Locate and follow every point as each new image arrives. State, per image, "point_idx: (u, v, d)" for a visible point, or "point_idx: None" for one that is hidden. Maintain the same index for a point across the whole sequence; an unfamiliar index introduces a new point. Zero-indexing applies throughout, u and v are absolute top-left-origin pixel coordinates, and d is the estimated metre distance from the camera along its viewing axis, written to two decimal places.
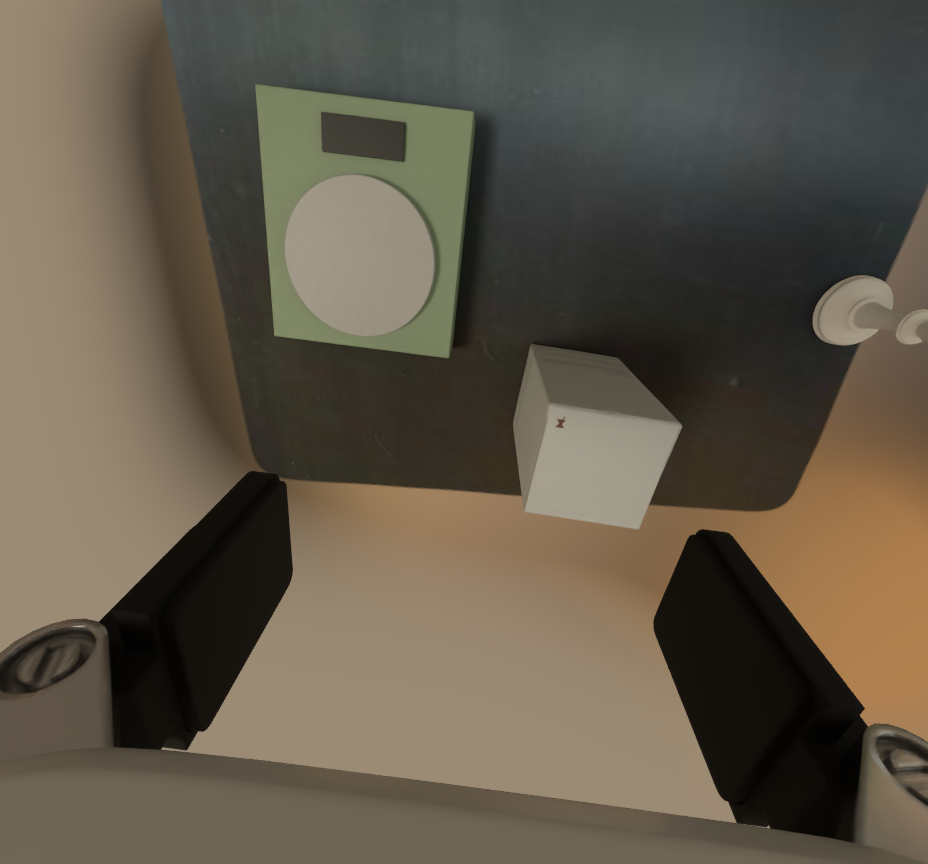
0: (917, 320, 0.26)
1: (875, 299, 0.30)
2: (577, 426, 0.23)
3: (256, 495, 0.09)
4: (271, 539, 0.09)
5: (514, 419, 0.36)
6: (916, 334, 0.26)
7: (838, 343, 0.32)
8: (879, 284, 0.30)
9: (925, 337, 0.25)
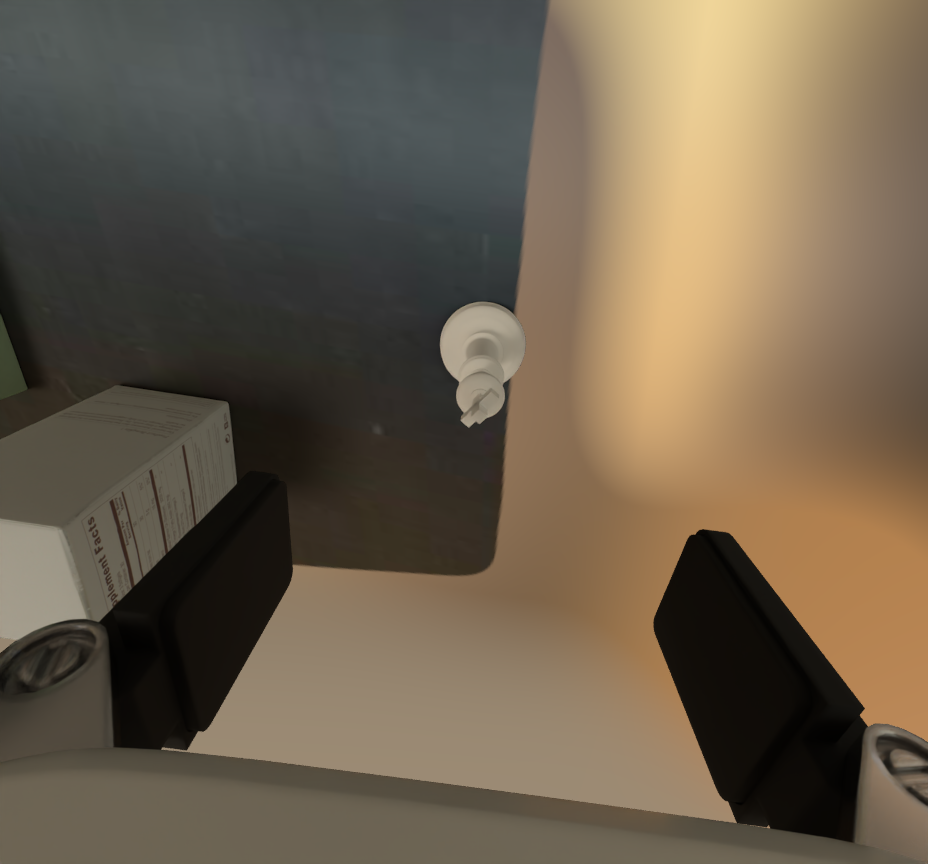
0: (472, 370, 0.20)
1: (485, 334, 0.23)
2: None
3: (256, 495, 0.09)
4: (271, 539, 0.09)
5: None
6: None
7: None
8: (495, 314, 0.23)
9: None
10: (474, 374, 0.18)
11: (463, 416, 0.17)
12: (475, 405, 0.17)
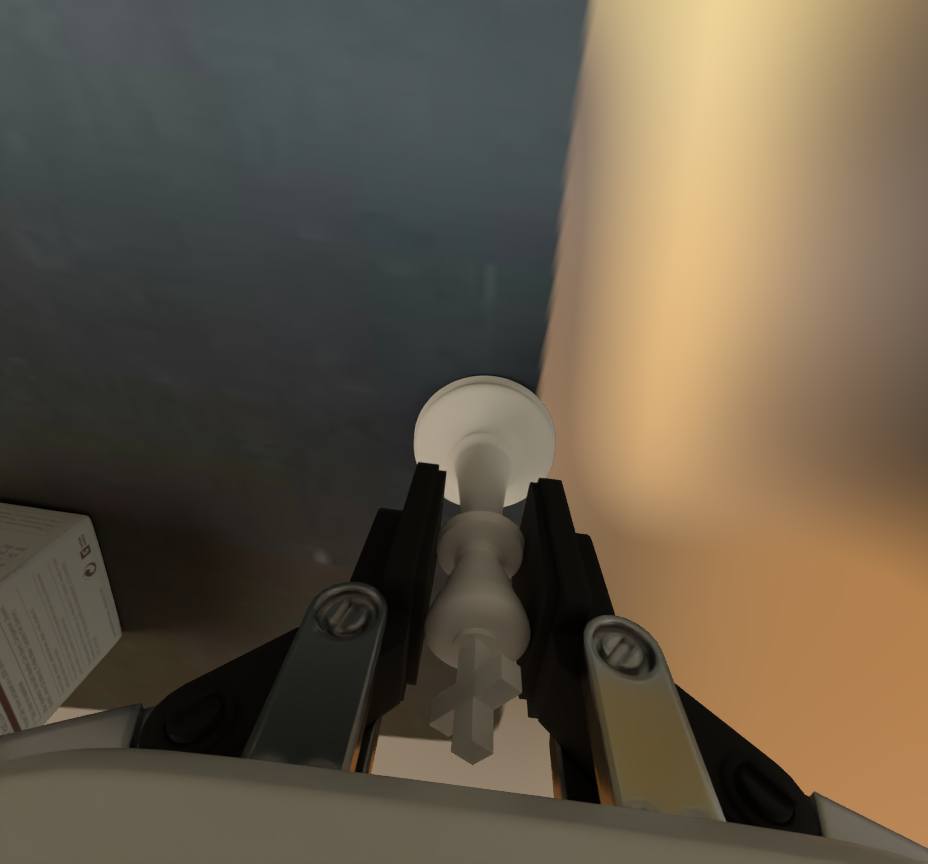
0: (462, 541, 0.10)
1: (489, 436, 0.13)
2: None
3: (434, 482, 0.10)
4: (439, 522, 0.10)
5: None
6: None
7: None
8: (507, 400, 0.14)
9: None
10: (463, 595, 0.08)
11: (435, 711, 0.07)
12: (463, 697, 0.07)
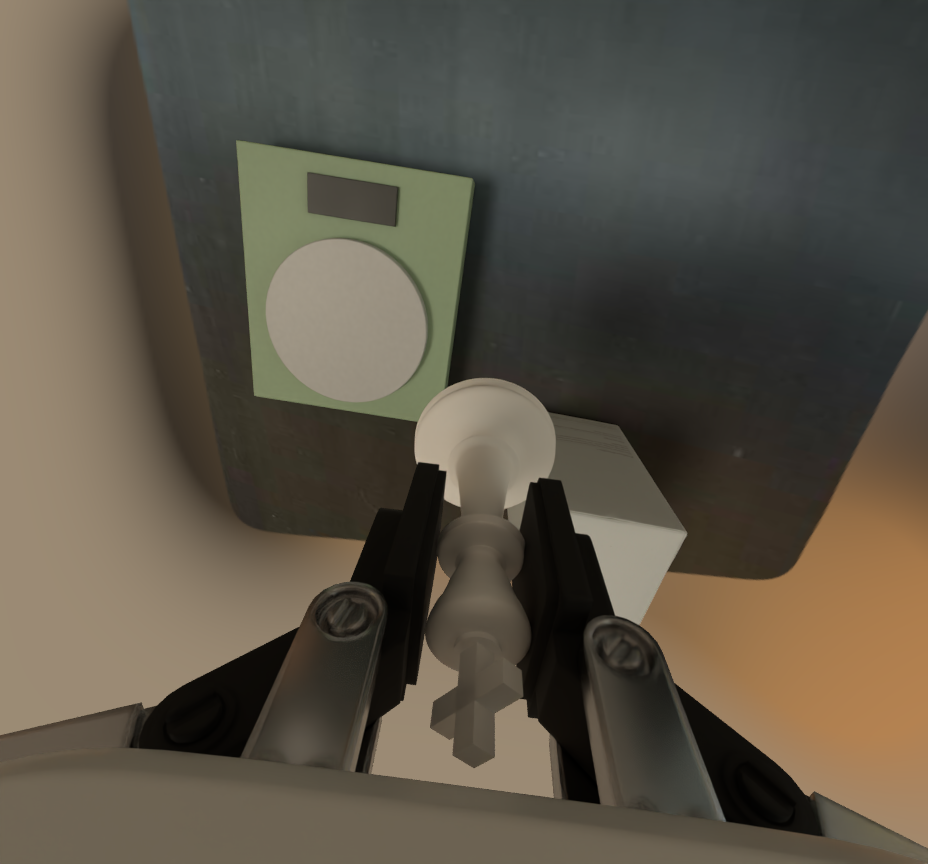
0: (463, 544, 0.10)
1: (489, 438, 0.13)
2: (575, 530, 0.22)
3: (434, 482, 0.10)
4: (439, 522, 0.10)
5: None
6: None
7: None
8: (507, 402, 0.14)
9: None
10: (464, 598, 0.08)
11: (437, 714, 0.07)
12: (464, 700, 0.07)
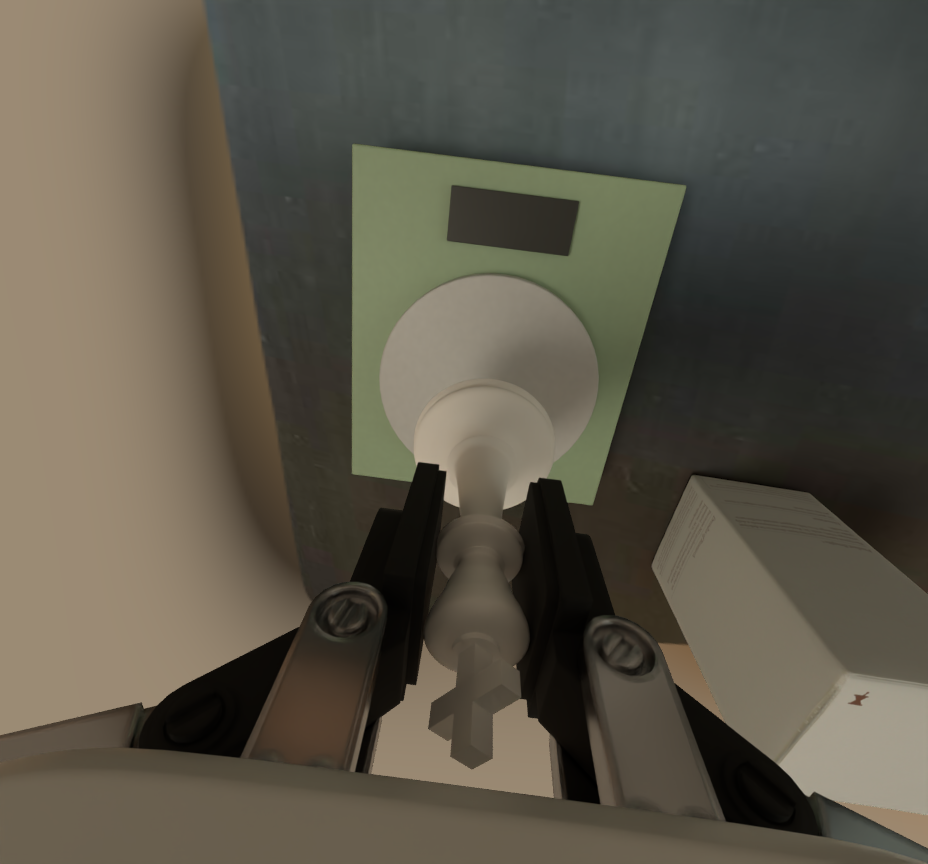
0: (461, 545, 0.10)
1: (488, 439, 0.13)
2: (886, 703, 0.14)
3: (434, 482, 0.10)
4: (439, 522, 0.10)
5: (658, 564, 0.27)
6: None
7: None
8: (506, 403, 0.14)
9: None
10: (462, 599, 0.08)
11: (435, 715, 0.07)
12: (463, 701, 0.07)
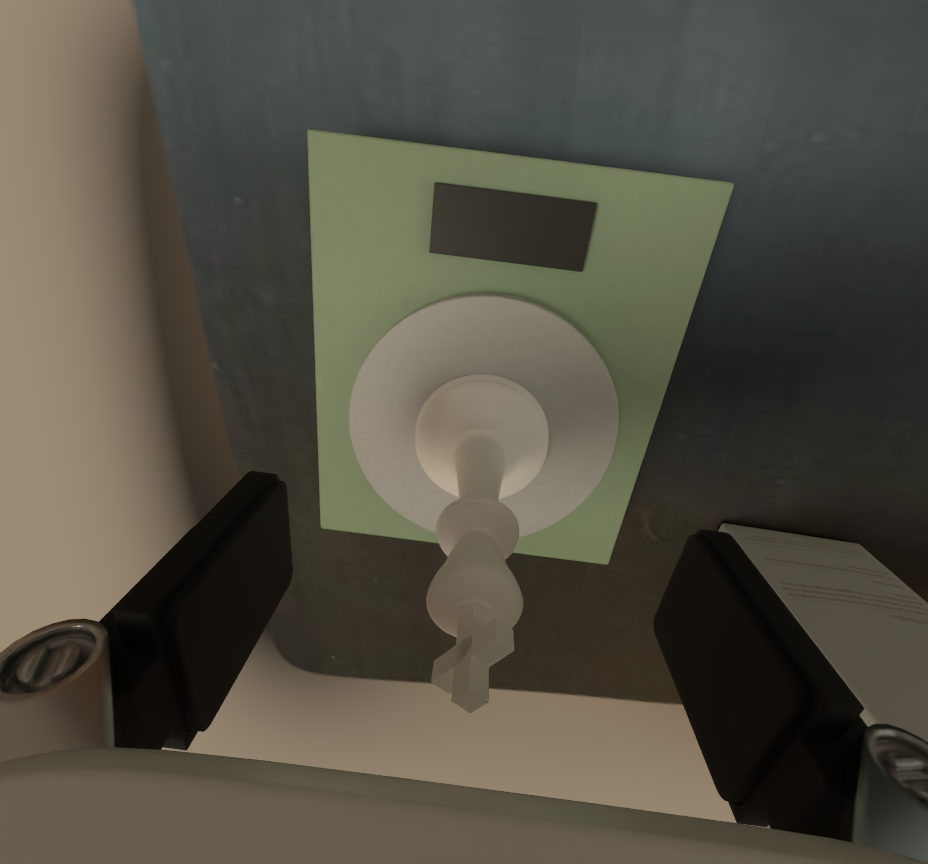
0: (461, 525, 0.11)
1: (486, 430, 0.14)
2: None
3: (256, 495, 0.09)
4: (271, 539, 0.09)
5: None
6: None
7: None
8: (502, 396, 0.15)
9: None
10: (462, 568, 0.09)
11: (437, 670, 0.08)
12: (462, 656, 0.08)
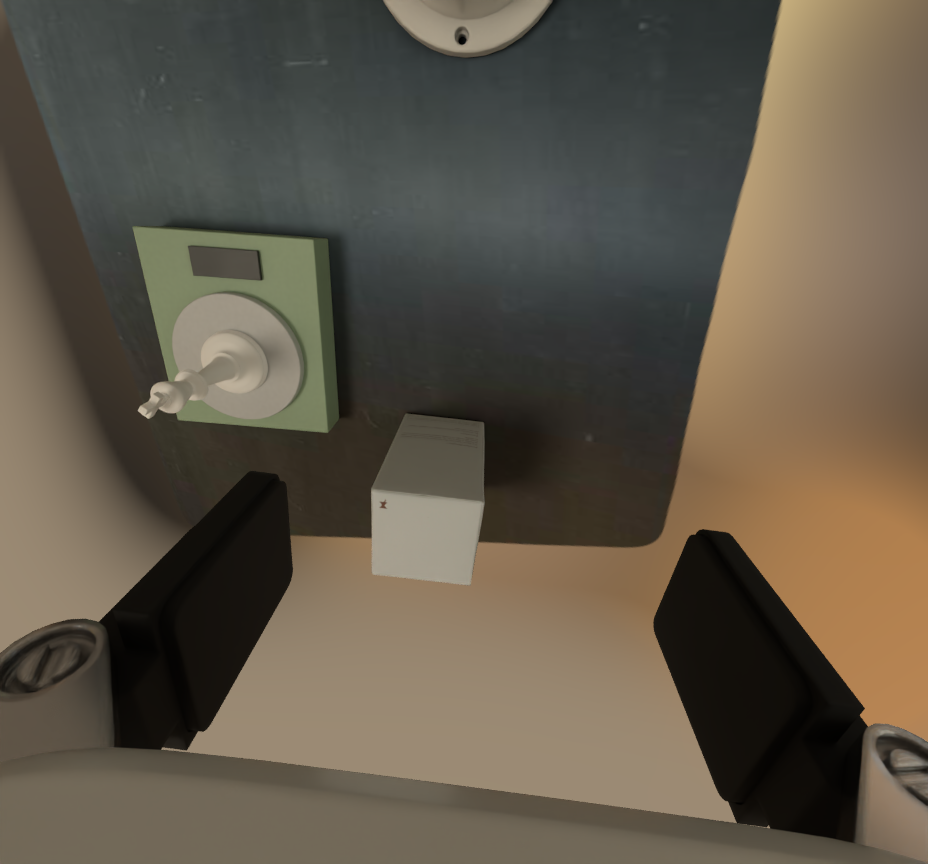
0: (180, 380, 0.28)
1: (222, 353, 0.32)
2: (397, 506, 0.28)
3: (256, 495, 0.09)
4: (271, 539, 0.09)
5: None
6: None
7: (233, 392, 0.34)
8: (232, 338, 0.32)
9: None
10: (157, 383, 0.26)
11: None
12: None
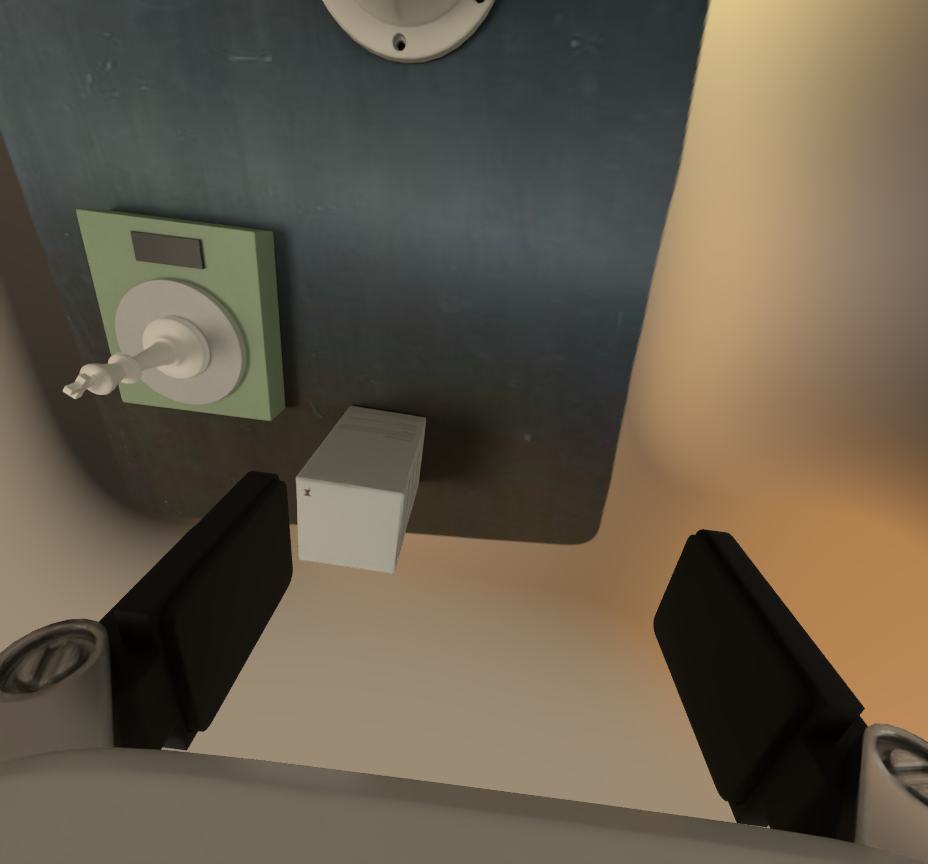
0: (113, 363, 0.29)
1: (162, 339, 0.32)
2: (321, 494, 0.29)
3: (256, 495, 0.09)
4: (271, 539, 0.09)
5: None
6: None
7: (174, 377, 0.35)
8: (172, 324, 0.33)
9: None
10: None
11: None
12: None
